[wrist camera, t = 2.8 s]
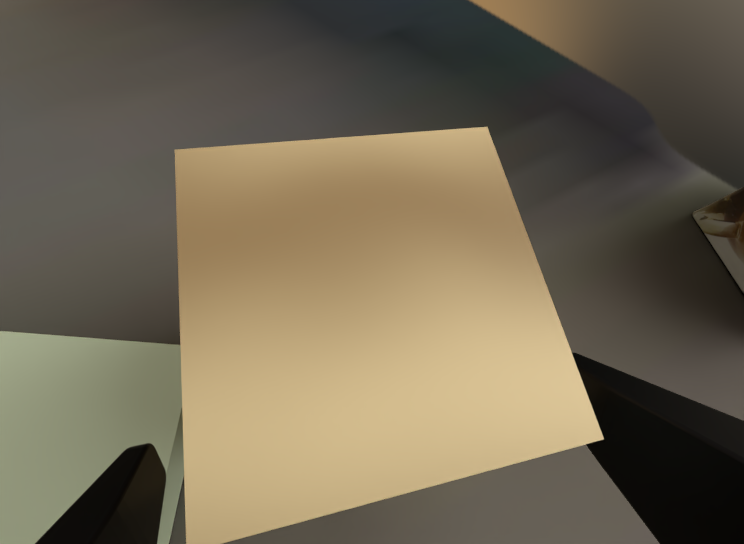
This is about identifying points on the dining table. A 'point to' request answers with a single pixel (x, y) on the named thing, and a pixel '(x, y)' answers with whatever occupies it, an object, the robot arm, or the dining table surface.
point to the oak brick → (359, 327)
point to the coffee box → (726, 231)
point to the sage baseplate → (81, 422)
